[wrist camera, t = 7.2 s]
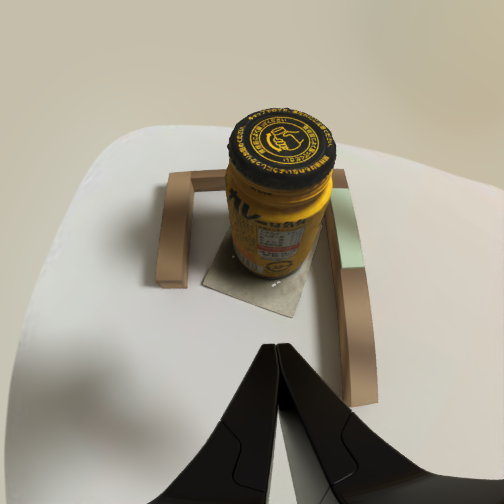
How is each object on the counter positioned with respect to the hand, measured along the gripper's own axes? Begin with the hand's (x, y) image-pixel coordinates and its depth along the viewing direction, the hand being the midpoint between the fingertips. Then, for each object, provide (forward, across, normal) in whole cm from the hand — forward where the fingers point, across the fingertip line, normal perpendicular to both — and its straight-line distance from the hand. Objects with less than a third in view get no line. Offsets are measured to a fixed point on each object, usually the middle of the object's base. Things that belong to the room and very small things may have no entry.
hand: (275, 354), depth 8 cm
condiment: (+15, 0, +3) cm, 16 cm away
